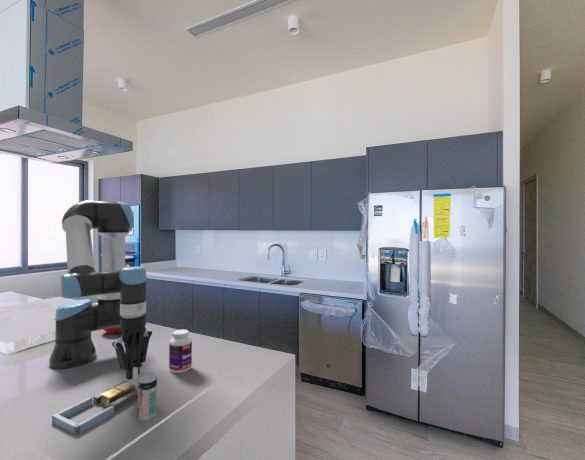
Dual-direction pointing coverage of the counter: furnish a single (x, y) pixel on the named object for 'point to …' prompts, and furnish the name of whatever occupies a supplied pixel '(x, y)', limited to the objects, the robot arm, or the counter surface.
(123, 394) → the block
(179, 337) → the pill bottle
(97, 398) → the slot rail
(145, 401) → the beer can
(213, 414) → the counter surface
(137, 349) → the robot arm
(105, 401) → the tan small block
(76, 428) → the chip tray
